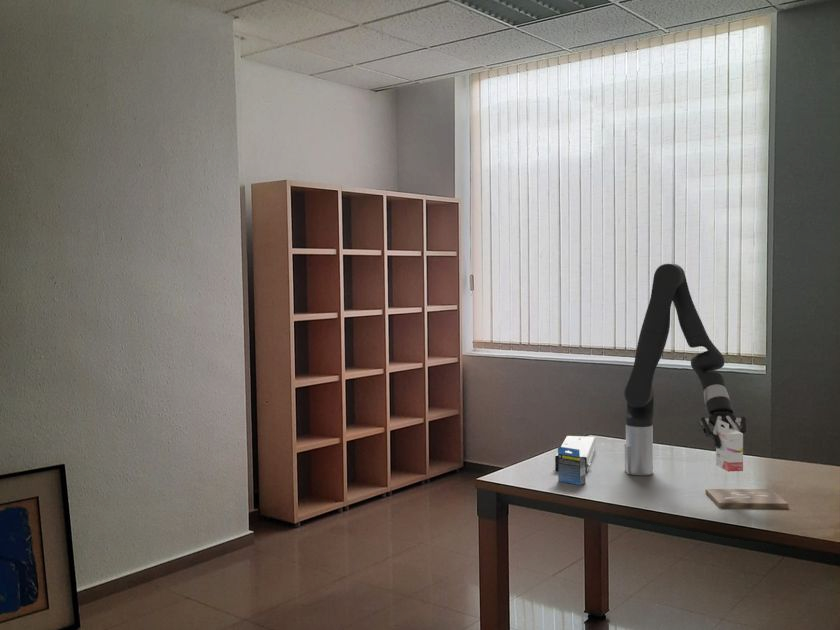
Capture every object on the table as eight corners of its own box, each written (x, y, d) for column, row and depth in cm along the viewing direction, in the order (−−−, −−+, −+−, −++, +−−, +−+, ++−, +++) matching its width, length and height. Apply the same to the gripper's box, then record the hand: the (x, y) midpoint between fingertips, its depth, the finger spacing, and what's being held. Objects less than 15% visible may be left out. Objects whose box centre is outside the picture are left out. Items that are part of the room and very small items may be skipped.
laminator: (566, 450, 309) (566, 435, 309) (597, 452, 306) (597, 436, 305) (555, 472, 277) (555, 455, 277) (590, 474, 273) (589, 457, 273)
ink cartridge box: (744, 471, 234) (744, 423, 233) (728, 472, 233) (728, 424, 232) (730, 464, 242) (730, 418, 241) (715, 465, 242) (715, 418, 241)
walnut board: (719, 508, 231) (719, 502, 231) (705, 493, 246) (705, 488, 246) (788, 508, 229) (788, 503, 229) (770, 493, 244) (770, 488, 244)
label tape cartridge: (586, 483, 261) (585, 447, 260) (580, 486, 258) (579, 449, 257) (563, 479, 267) (563, 444, 266) (557, 481, 264) (557, 446, 263)
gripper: (696, 395, 246) (707, 440, 235) (743, 394, 245) (756, 440, 233) (692, 409, 252) (703, 453, 240) (738, 408, 250) (750, 453, 239)
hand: (729, 446), depth 237 cm, fingers closed on ink cartridge box, 5 cm apart
